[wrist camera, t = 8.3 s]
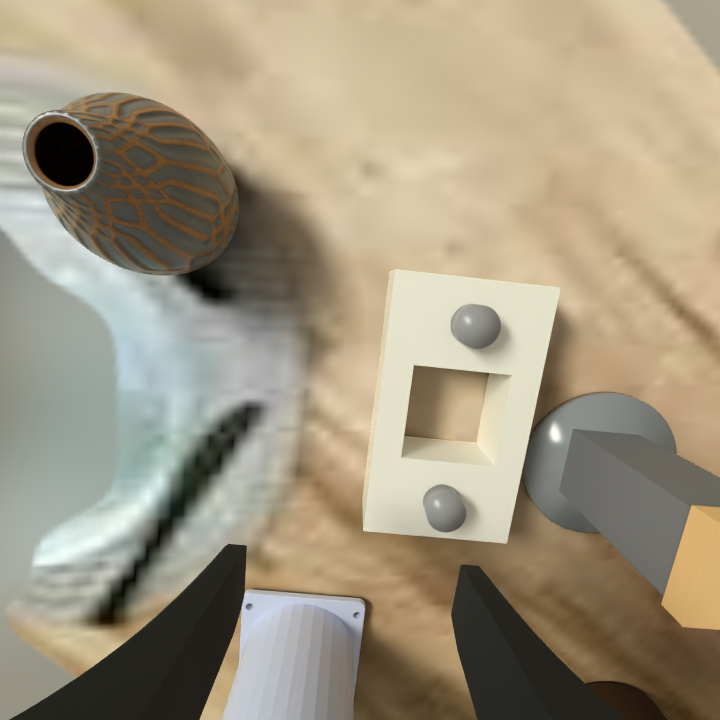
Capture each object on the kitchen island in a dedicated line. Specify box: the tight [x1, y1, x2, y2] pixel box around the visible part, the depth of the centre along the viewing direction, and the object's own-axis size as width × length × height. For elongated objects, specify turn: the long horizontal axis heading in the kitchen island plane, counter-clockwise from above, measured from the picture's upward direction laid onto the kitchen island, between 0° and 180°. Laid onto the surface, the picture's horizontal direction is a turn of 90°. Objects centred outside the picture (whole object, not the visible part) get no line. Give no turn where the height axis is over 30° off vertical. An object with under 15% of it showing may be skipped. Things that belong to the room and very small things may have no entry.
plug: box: [559, 429, 720, 630], centre depth 18 cm, size 4×4×9 cm
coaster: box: [522, 392, 676, 533], centre depth 23 cm, size 9×9×1 cm
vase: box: [22, 93, 239, 275], centre depth 15 cm, size 7×7×9 cm
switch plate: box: [362, 269, 561, 544], centre depth 20 cm, size 14×8×4 cm, turn 174°
